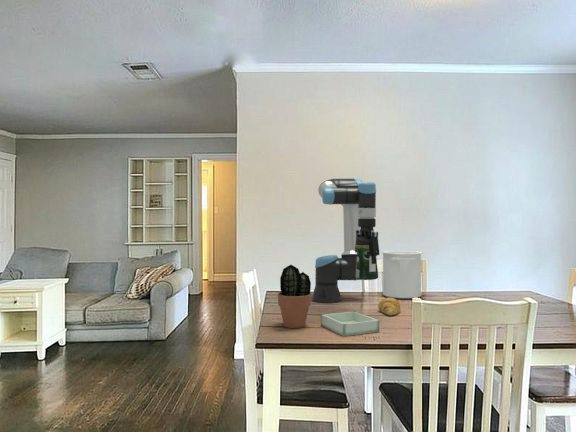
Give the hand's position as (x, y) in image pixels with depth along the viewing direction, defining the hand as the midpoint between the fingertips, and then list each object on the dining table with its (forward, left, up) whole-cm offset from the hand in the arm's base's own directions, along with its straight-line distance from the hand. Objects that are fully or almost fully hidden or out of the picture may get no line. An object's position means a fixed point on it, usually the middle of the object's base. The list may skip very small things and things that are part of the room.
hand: (366, 270), depth 205 cm
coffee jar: (0, 0, -4) cm, 4 cm away
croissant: (-7, +17, -22) cm, 28 cm away
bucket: (-37, +47, -21) cm, 63 cm away
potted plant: (-1, -34, -21) cm, 40 cm away
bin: (+12, -16, -21) cm, 29 cm away
